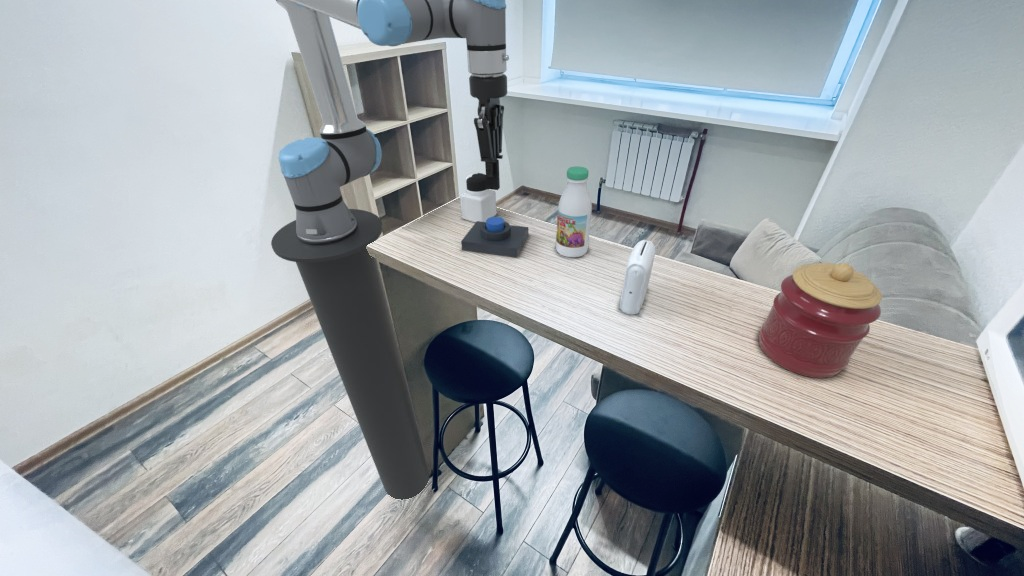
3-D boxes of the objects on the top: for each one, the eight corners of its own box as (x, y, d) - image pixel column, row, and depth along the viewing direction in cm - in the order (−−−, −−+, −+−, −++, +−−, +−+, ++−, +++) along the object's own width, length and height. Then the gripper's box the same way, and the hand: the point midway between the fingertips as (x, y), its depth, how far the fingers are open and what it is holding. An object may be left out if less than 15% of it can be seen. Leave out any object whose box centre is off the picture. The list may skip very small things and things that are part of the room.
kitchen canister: (838, 338, 72) (890, 253, 62) (850, 390, 63) (914, 300, 53) (756, 318, 77) (792, 236, 67) (756, 364, 68) (798, 277, 57)
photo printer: (639, 317, 78) (650, 263, 71) (616, 312, 79) (626, 258, 72) (648, 288, 85) (660, 236, 78) (628, 284, 87) (637, 232, 80)
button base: (462, 250, 100) (460, 233, 97) (477, 229, 108) (476, 214, 106) (517, 257, 96) (516, 240, 94) (528, 235, 105) (528, 220, 102)
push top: (484, 231, 99) (483, 223, 97) (489, 223, 102) (489, 215, 101) (501, 233, 98) (501, 225, 96) (506, 225, 101) (506, 217, 100)
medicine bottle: (497, 214, 115) (495, 173, 108) (482, 224, 110) (480, 182, 103) (476, 209, 118) (473, 169, 111) (461, 219, 113) (457, 177, 106)
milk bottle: (565, 239, 103) (570, 161, 91) (593, 247, 99) (602, 167, 88) (549, 252, 98) (553, 171, 86) (578, 261, 94) (586, 178, 83)
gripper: (495, 80, 74) (500, 201, 88) (515, 69, 84) (516, 179, 98) (457, 79, 76) (467, 197, 90) (481, 68, 86) (487, 176, 100)
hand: (493, 188), depth 94 cm, fingers closed
